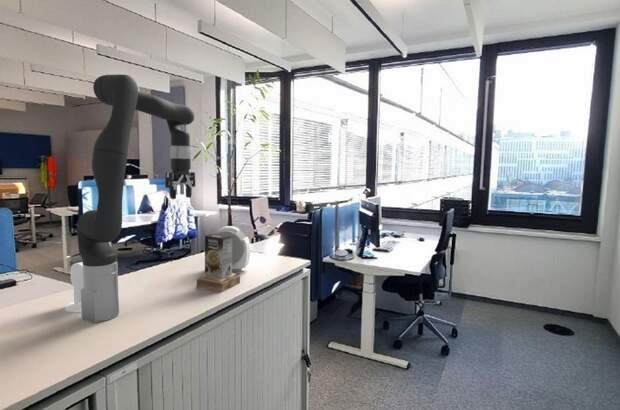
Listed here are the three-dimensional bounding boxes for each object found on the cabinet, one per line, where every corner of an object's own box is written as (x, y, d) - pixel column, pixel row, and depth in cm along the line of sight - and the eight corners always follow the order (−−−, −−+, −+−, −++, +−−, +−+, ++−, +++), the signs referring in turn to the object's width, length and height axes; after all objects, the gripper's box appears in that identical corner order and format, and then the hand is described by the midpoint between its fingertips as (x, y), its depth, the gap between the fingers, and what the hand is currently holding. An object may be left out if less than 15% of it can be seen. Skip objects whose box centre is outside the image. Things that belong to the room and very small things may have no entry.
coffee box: (204, 275, 142) (203, 235, 140) (215, 271, 148) (214, 232, 146) (222, 279, 138) (222, 238, 136) (232, 274, 144) (232, 235, 142)
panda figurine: (113, 304, 121) (111, 261, 120) (77, 315, 112) (75, 269, 110) (93, 296, 127) (91, 255, 126) (58, 307, 118) (55, 262, 116)
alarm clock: (250, 268, 166) (251, 226, 164) (245, 274, 158) (246, 229, 156) (213, 266, 168) (213, 224, 166) (206, 272, 160) (206, 227, 157)
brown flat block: (221, 292, 135) (221, 281, 135) (196, 287, 140) (196, 277, 140) (239, 282, 146) (239, 273, 146) (216, 278, 151) (216, 269, 151)
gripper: (174, 157, 134) (175, 200, 136) (200, 158, 147) (200, 197, 149) (159, 157, 137) (160, 199, 139) (185, 158, 150) (186, 196, 152)
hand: (181, 198), depth 144 cm, fingers open, 8 cm apart
